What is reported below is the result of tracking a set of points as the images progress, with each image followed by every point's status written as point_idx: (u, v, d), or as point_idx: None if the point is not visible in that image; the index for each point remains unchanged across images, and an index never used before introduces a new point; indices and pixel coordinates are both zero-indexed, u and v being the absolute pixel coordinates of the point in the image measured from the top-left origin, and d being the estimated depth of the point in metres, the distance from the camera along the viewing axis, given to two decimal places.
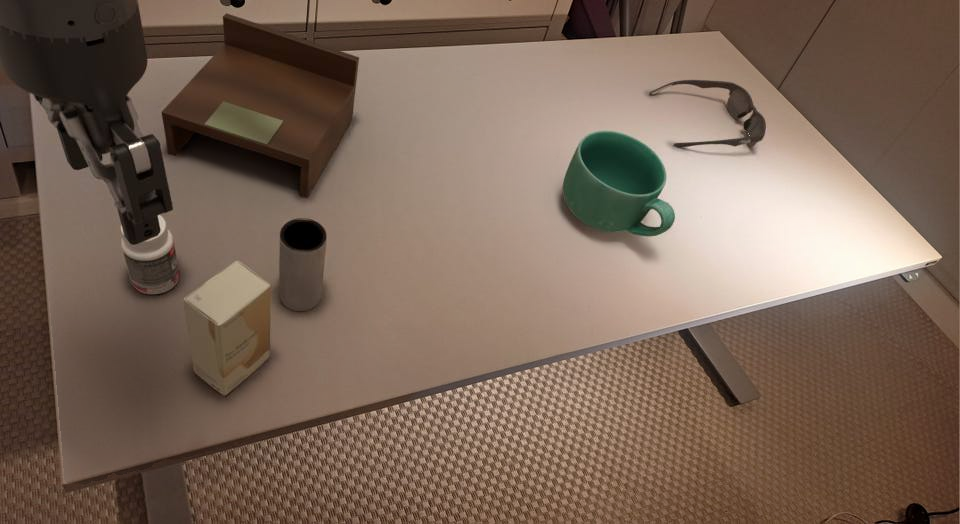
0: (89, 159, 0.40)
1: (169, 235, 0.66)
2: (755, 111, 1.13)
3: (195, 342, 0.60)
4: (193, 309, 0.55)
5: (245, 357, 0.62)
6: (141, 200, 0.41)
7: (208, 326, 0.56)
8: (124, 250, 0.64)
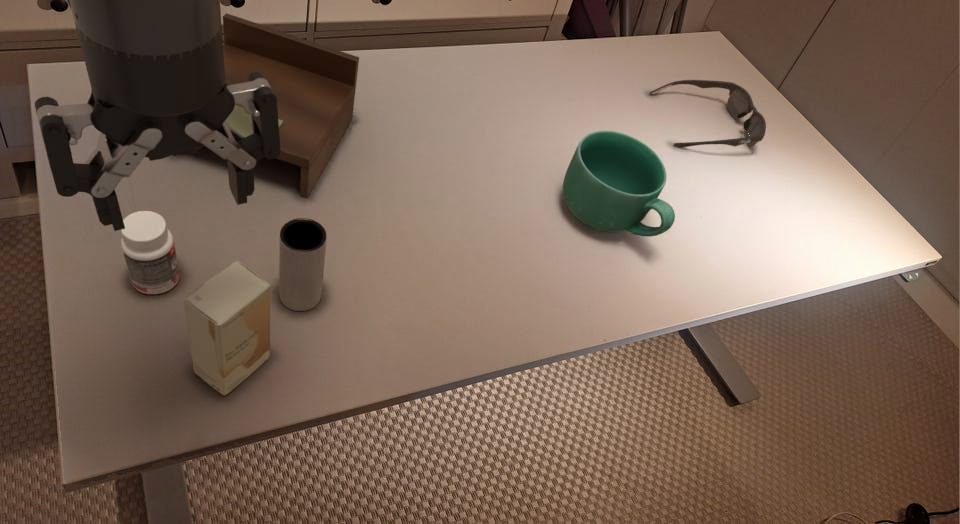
0: (224, 141, 0.44)
1: (169, 235, 0.66)
2: (755, 111, 1.13)
3: (194, 342, 0.60)
4: (193, 309, 0.55)
5: (245, 357, 0.62)
6: None
7: (208, 327, 0.56)
8: (124, 250, 0.64)
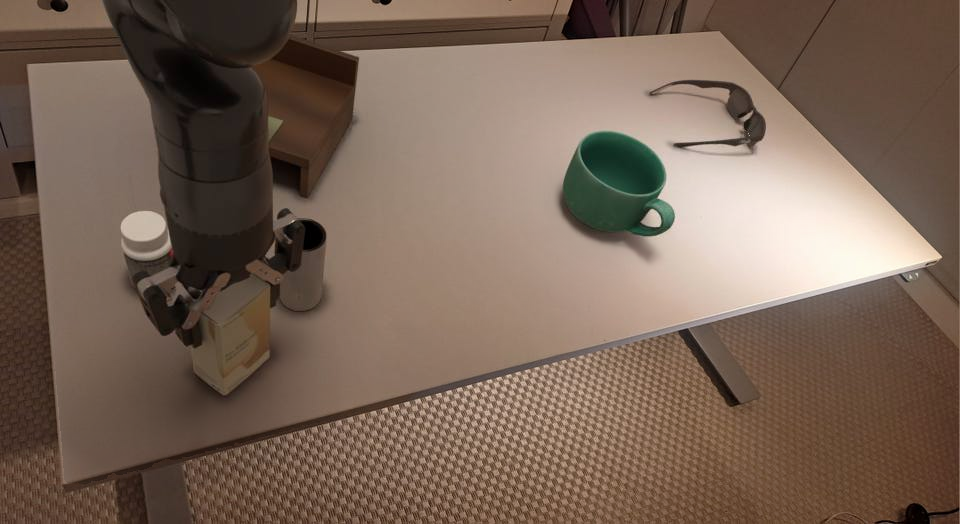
0: (268, 268, 0.56)
1: None
2: (755, 111, 1.13)
3: None
4: None
5: (245, 357, 0.62)
6: (285, 258, 0.59)
7: (208, 327, 0.56)
8: (124, 250, 0.64)
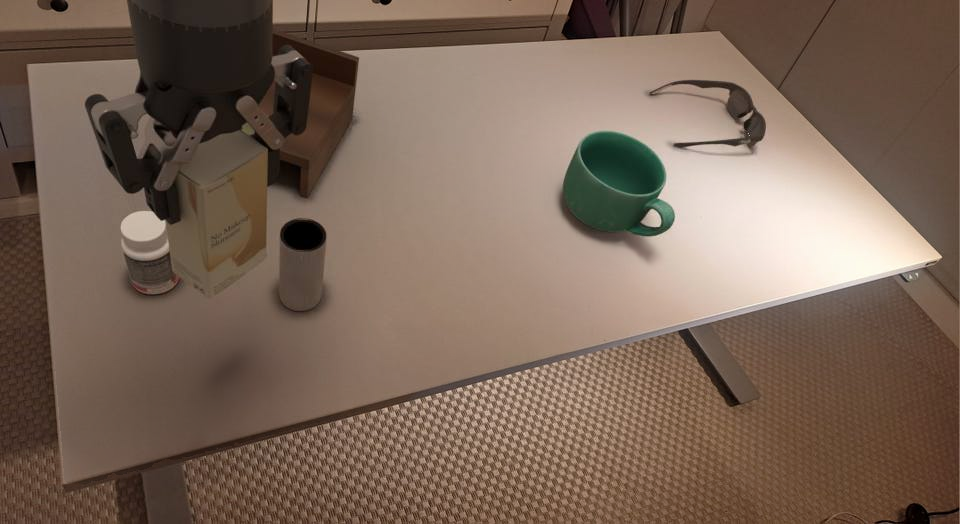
0: (265, 118, 0.44)
1: None
2: (755, 111, 1.13)
3: None
4: None
5: (235, 248, 0.50)
6: (286, 117, 0.47)
7: (188, 193, 0.44)
8: (124, 250, 0.64)
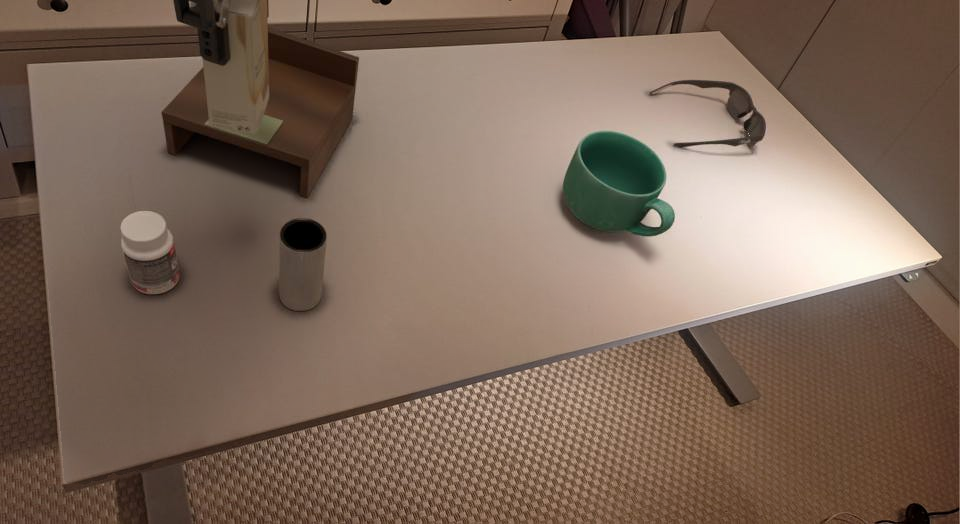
0: None
1: (169, 235, 0.66)
2: (755, 111, 1.13)
3: (213, 71, 0.55)
4: None
5: (262, 81, 0.59)
6: None
7: (235, 28, 0.52)
8: (124, 250, 0.64)
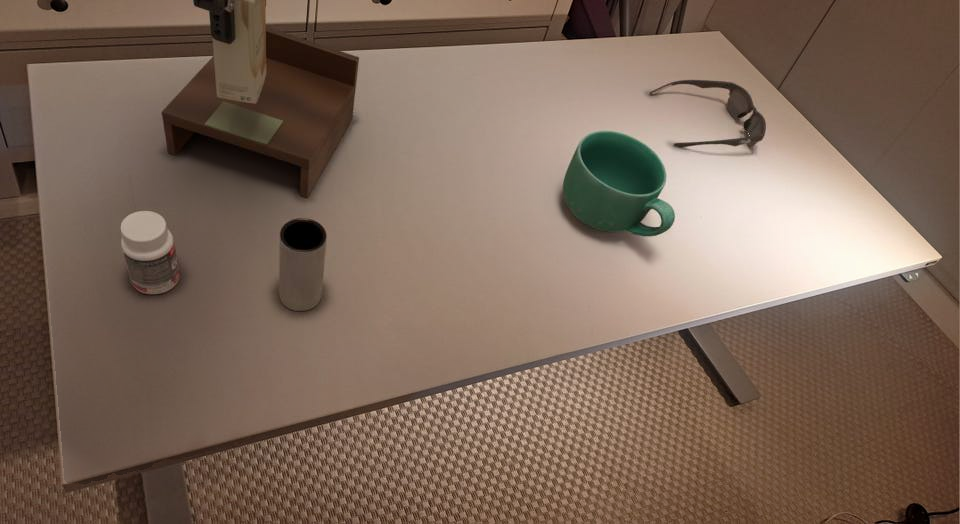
0: None
1: (169, 235, 0.66)
2: (755, 111, 1.13)
3: (221, 49, 0.67)
4: None
5: (261, 59, 0.71)
6: None
7: (240, 12, 0.64)
8: (124, 250, 0.64)
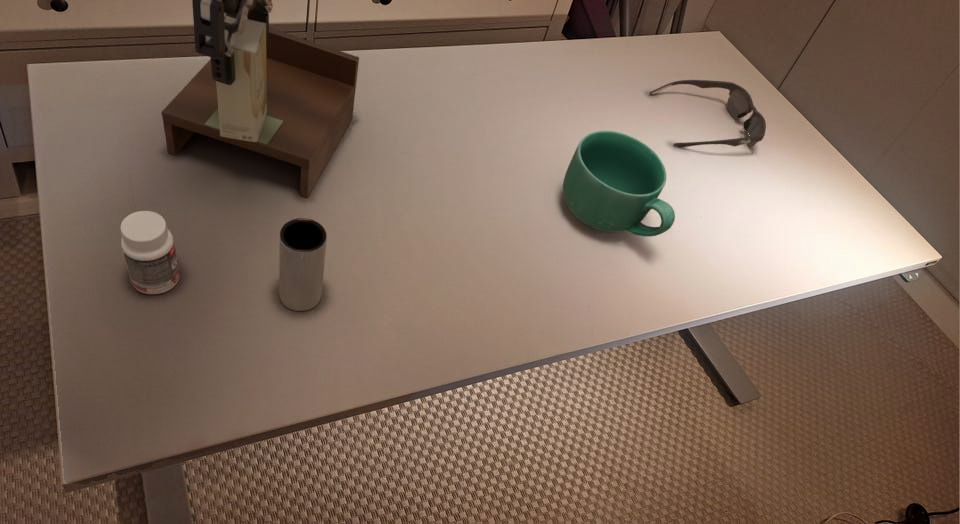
0: None
1: (169, 235, 0.66)
2: (755, 111, 1.13)
3: (224, 93, 0.71)
4: None
5: (261, 100, 0.75)
6: None
7: (242, 61, 0.69)
8: (124, 250, 0.64)
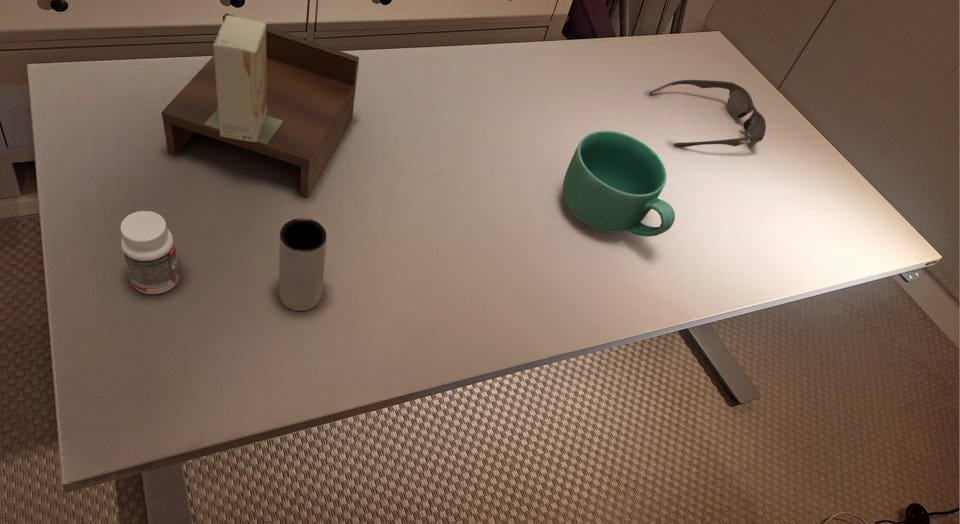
0: None
1: (169, 235, 0.66)
2: (755, 111, 1.13)
3: (224, 93, 0.71)
4: (226, 50, 0.68)
5: (261, 100, 0.75)
6: None
7: (242, 61, 0.69)
8: (124, 250, 0.64)
